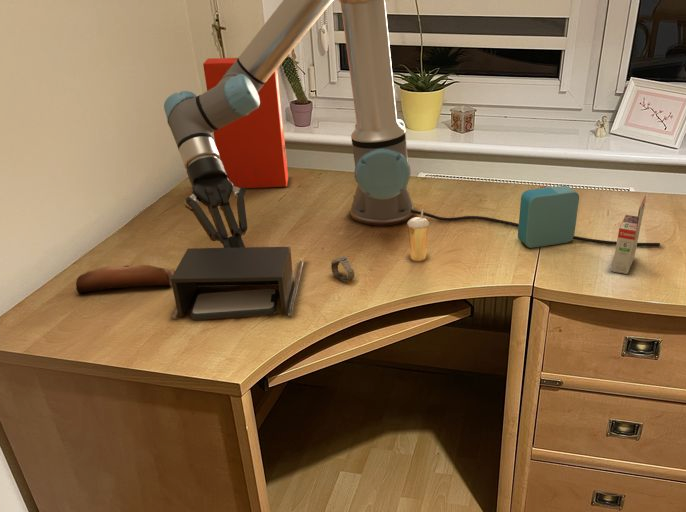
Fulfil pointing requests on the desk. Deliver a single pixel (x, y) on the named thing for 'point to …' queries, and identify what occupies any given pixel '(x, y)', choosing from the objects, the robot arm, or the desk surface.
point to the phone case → (234, 304)
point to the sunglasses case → (123, 277)
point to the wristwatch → (346, 265)
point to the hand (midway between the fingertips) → (242, 267)
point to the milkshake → (418, 237)
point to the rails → (292, 294)
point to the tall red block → (252, 135)
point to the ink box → (627, 241)
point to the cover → (233, 271)
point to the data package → (548, 216)
